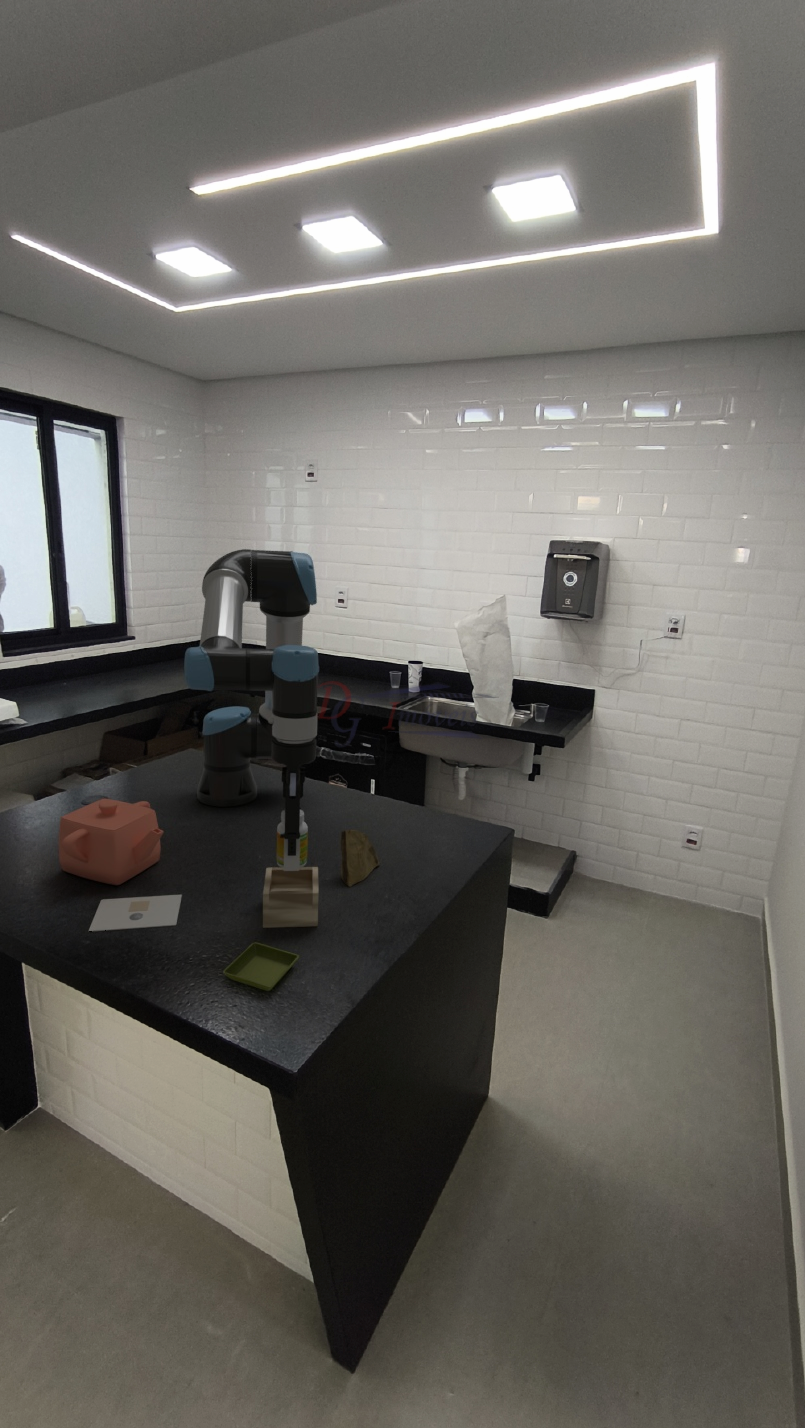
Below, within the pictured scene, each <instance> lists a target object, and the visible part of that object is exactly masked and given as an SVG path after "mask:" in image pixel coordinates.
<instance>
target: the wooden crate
mask: <svg viewBox="0 0 805 1428" xmlns="http://www.w3.org/2000/svg"><path fill="white" fill-rule="evenodd" d="M319 891H320V890H319V867H318V866H303V867H301V868H299V871H284V868H281V867H280V866H278V867H266V869H265V876H264V884H263V891H262V928H265V929H266V928H267V929H268V928H297V927H318V926H319V925H318V924H319V923H318V922H319Z"/></svg>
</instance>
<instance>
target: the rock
mask: <svg viewBox="0 0 805 1428" xmlns="http://www.w3.org/2000/svg"><path fill="white" fill-rule="evenodd" d="M340 851H341V862H340V863H341V864H340V877H341V880H342V882H343V883H344V885H347V886H348V887H350V888H351V887H352V886H354V885H355V884H357V883H361V882H362V881H364V880H365V879H366V878H368V877H369V875H370V874H371V873H373V871H374V869H375V868H376V867H378V866H379V865H380V859H379V857H378V854H377V850H376V849H375V847H374V846H373V845H372V843H371V841H370V840H369V839H368V835H367V834H366V833H363V832H360V831H358V830H357V829H349V830H341V833H340Z"/></svg>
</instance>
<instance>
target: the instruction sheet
mask: <svg viewBox="0 0 805 1428" xmlns="http://www.w3.org/2000/svg"><path fill="white" fill-rule="evenodd" d="M182 897H183V894H169V895H153V896H137V897H122V898H104V899H101V900H100V903H99V904H98V907H97V909H96V912H95V915H94V917H93V919H92V921H91V924H90V927H89V929H88V932H89V931H92V932H103V931H104V932H105V930H106V931H116V930H131V929H133V930H134V929H143V928H145V929H146V928H157V927H158V928H159V927H171V926H175V927H176V926H177V924H178V923H177V922H178V918H179V912H180V907H181V901H182Z"/></svg>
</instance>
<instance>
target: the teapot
mask: <svg viewBox="0 0 805 1428" xmlns="http://www.w3.org/2000/svg"><path fill="white" fill-rule="evenodd" d="M157 819H158V818H157V815H156V810H154V809H153V808H151V804H150V802H148V801H145V800H144V801H143V800H142V801H137V802H135V803H131V802H130V803H129V802H126V801H121V800H116V799H110V798H101V799H99V800H97V801H96V800H95V801H94V802H92V803H89V804H87V805H84V806H83V807H80V808H78V809H76V810H74V811H71V812H69V813H67V814H65V815H63V816H61V817H60V820H59V831H58V832H59V834H58V860H59V864H60V867H61V869H62V871H64V872H66V873H69V874H71V875H74V876H77V877H80V878H84V879H87V880H90V881H93V882H98V883H103V884H107V885H110V886H113V885H114V886H120V885H121V884H124V883H126V882H127V881H129V880H130V879H132V878H134V877H135V876H137V875H138V874H141V873H142V872H144V871H145V870H146V869H148V868H150V867H151V866H153V865H155V864H157V862H159V861H160V857H161V852H162V851H161V838H162V836H163V834H164V832H165V831H164V830H163V829H161V828H159V824H158V820H157Z"/></svg>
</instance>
